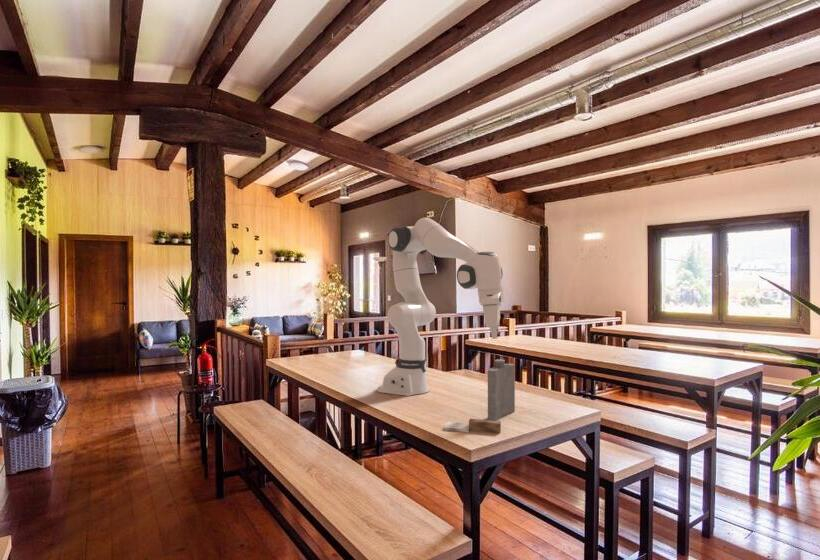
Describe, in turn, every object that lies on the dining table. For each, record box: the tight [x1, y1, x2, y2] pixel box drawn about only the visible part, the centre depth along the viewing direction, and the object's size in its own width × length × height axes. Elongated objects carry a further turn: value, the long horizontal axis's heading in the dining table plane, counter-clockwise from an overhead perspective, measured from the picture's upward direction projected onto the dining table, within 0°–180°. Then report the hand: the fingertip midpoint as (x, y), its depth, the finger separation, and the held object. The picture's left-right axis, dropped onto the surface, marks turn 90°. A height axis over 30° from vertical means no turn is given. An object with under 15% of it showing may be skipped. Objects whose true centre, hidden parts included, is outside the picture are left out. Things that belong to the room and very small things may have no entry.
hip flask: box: [487, 359, 516, 421], centre depth 166 cm, size 16×4×20 cm, turn 139°
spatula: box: [443, 418, 502, 434], centre depth 151 cm, size 18×6×3 cm, turn 74°
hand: (495, 336), depth 162 cm, fingers open, 8 cm apart
